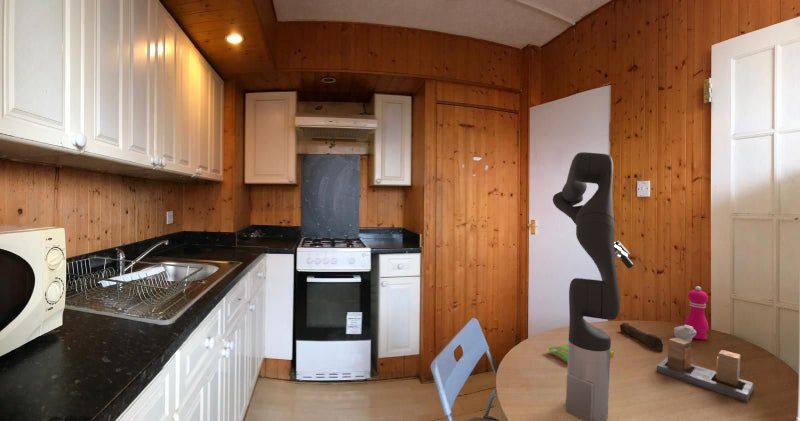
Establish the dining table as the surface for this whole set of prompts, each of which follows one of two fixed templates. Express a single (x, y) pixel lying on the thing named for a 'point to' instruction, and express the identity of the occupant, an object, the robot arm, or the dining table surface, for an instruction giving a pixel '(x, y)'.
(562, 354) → the game box
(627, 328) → the dark brown stick
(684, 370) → the tan wooden block
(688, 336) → the crumpled paper ball
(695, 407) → the dining table surface
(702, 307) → the pepper mill
